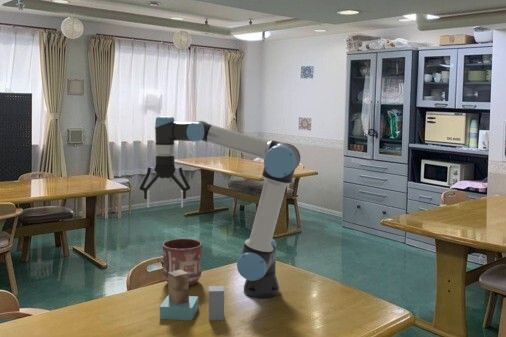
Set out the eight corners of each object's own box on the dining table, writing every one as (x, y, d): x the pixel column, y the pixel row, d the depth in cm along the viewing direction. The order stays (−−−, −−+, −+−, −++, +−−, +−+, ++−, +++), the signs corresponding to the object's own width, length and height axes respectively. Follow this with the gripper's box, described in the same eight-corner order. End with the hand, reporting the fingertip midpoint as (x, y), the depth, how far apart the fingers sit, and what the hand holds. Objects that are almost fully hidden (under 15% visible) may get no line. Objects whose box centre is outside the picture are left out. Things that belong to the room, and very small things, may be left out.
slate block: (223, 314, 201) (223, 285, 199) (223, 320, 195) (224, 290, 194) (208, 314, 200) (208, 286, 199) (208, 320, 195) (209, 291, 193)
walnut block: (181, 297, 204) (180, 269, 203) (189, 301, 200) (188, 273, 199) (168, 300, 201) (167, 272, 200) (176, 305, 197) (175, 276, 195)
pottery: (153, 284, 233) (153, 244, 231) (180, 274, 247) (180, 236, 245) (183, 293, 223) (183, 251, 221) (210, 282, 237) (210, 242, 235)
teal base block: (198, 308, 206) (198, 296, 206) (192, 321, 194) (192, 308, 194) (167, 307, 207) (167, 295, 207) (159, 319, 196) (159, 306, 195)
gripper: (196, 154, 220) (196, 205, 222) (134, 154, 217) (135, 205, 219) (196, 156, 212) (196, 208, 215) (132, 155, 210) (133, 208, 212)
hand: (165, 207), depth 217 cm, fingers open, 13 cm apart
